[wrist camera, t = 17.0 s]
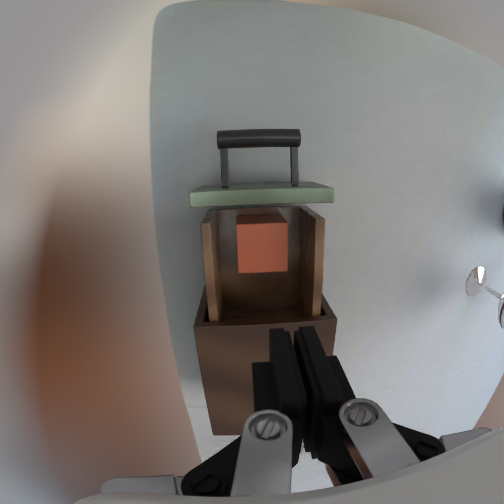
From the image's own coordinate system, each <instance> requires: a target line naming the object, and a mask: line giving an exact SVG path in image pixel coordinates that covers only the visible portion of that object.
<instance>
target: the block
mask: <svg viewBox="0 0 504 504" xmlns="http://www.w3.org/2000/svg"><path fill="white" fill-rule="evenodd" d="M236 239H237V259H238V273H259V272H280V271H288V222H287V221H286V220H285V219H284V217H283V216H282V215H281V214H265V215H240V216H237V218H236Z"/></svg>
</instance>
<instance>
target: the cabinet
mask: <svg viewBox="0 0 504 504" xmlns="http://www.w3.org/2000/svg"><path fill="white" fill-rule="evenodd" d="M336 325H337V318H336V316H335V315H334V313H333V311H332V309H331V308H330V306H329V304H328V302H327V301H326V299H325V297H324V296H323V294H322V298H321V312H320V316H315V317H302V318H289V319H273V320H254V321H230V322H210V321H209V312H208V303H207V293H206V284H205V286H204V290H203V294H202V298H201V301H200V305H199V308H198V312H197V316H196V319H195V323H194V334H195V340H196V346H197V353H198V359H199V365H200V371H201V376H202V382H203V387H204V393H205V398H206V403H207V408H208V413H209V418H210V423H211V427H212V432H213V435H242V432H243V427H244V423H245V421H246V419H247V418H248V417H249V416H250V415H251V414H253V413H254V398H253V379H252V362H269V329H274V328H284V331H289V332H290V336H291V340H292V343H293V342H294V331H298V330H299V327H303V326H314V327H315V330H316V332H317V334H318V337H319V339H320V342H321V344H322V346H323V349H324V351H325V353H326V356H333V349H334V341H335V333H336Z"/></svg>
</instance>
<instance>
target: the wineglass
mask: <svg viewBox="0 0 504 504" xmlns="http://www.w3.org/2000/svg"><path fill="white" fill-rule="evenodd" d="M485 281H486V271H485V269H484V268H483V267H477V268H476V269H474V270H473V271H472V273H471V274H470V276H469V278H468V280H467V284H466V291H467V294H468V295H469V296H475V295H477V294H478V293H479V292H480V291H481V290H482V288H484V289H486V290H487V291H488V292H490V293H491V294H492V295H494V296H495V297H496V298H498V299H499V303H498V320H499V323H500V325H501V327H502V328H503V329H504V293H503V294H502V295H501V294H499V293H498V292H496V291H494V290H492V289H491V288H489V287H487V286H485V285H484V284H485Z"/></svg>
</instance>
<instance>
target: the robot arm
mask: <svg viewBox="0 0 504 504" xmlns="http://www.w3.org/2000/svg"><path fill="white" fill-rule="evenodd" d="M252 379H253V398H254V413H253V414H251V415H250V416H249V417H248V418H247V419H246V421H245V423H244V427H243V432H242V435H241V436H239V437H238V438H237V439H235V440H234V441H233V442H231V443H230V444H229V445H227V446H226V447H225V448H223V449H222V450H220V451H219V452H218V453H216V454H215V455H213V456H212V457H210V458H209V459H207V460H206V461H204V462H203V463H201V464H200V465H198V466H197V467H195V468H194V469H192V470H191V471H189V472H188V473H187V474H186V475H185V476H177V477H174V475H173V474H172V475H159V476H142V477H115V478H111V479H109V480H107V481H105V483H104V484H103V485H102V487H101V490H100V494H99V495H94V496H90V497H86V498H84V499H81V500H79V501H77V502H76V503H75V504H504V427H501V428H498V429H496V430H493V431H492V430H491V429H489V428H478V429H473V430H469V431H464V432H459V433H454V434H449V435H443V436H441V437H440V439H437V438H435V437H433V436H431V435H428V434H425V433H421V432H418V431H415V430H412V429H409V428H406V427H404V426H401V425H398V424H395V423H392V422H391V420H390V419H389V418H388V416H387V415H386V414H385V412H384V411H383V410H382V408H381V407H380V406H379V405H378V404H377V403H375V402H374V401H372V400H369V399H364V398H357V399H356V397H355V395H354V393H353V390H352V388H351V386H350V384H349V382H348V379H347V377H346V375H345V373H344V371H343V368H342V366H341V364H340V362H339V360H338V358H337V356H335V355H334V356H326V353H325V351H324V349H323V346H322V344H321V342H320V339H319V337H318V334H317V332H316V330H315V327H314V326H303V327H299V330H298V331H294V342H293V343H292V340H291V336H290V332H289V331H284V328H274V329H269V362H252ZM302 438H303V443H304V448H305V451H306V452H311V456H312V459H316V458H318V460H319V461H321V462H323V463H325V467H326V470H327V473H328V475H329V477H330V479H331V481H332V483H333V486H334V487H330V488H325V489H319V490H313V491H306V492H298V493H291V475H292V468H293V467H294V466H295V465H296V464H297V463H298V460H299V453H300V451H301V445H302Z"/></svg>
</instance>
